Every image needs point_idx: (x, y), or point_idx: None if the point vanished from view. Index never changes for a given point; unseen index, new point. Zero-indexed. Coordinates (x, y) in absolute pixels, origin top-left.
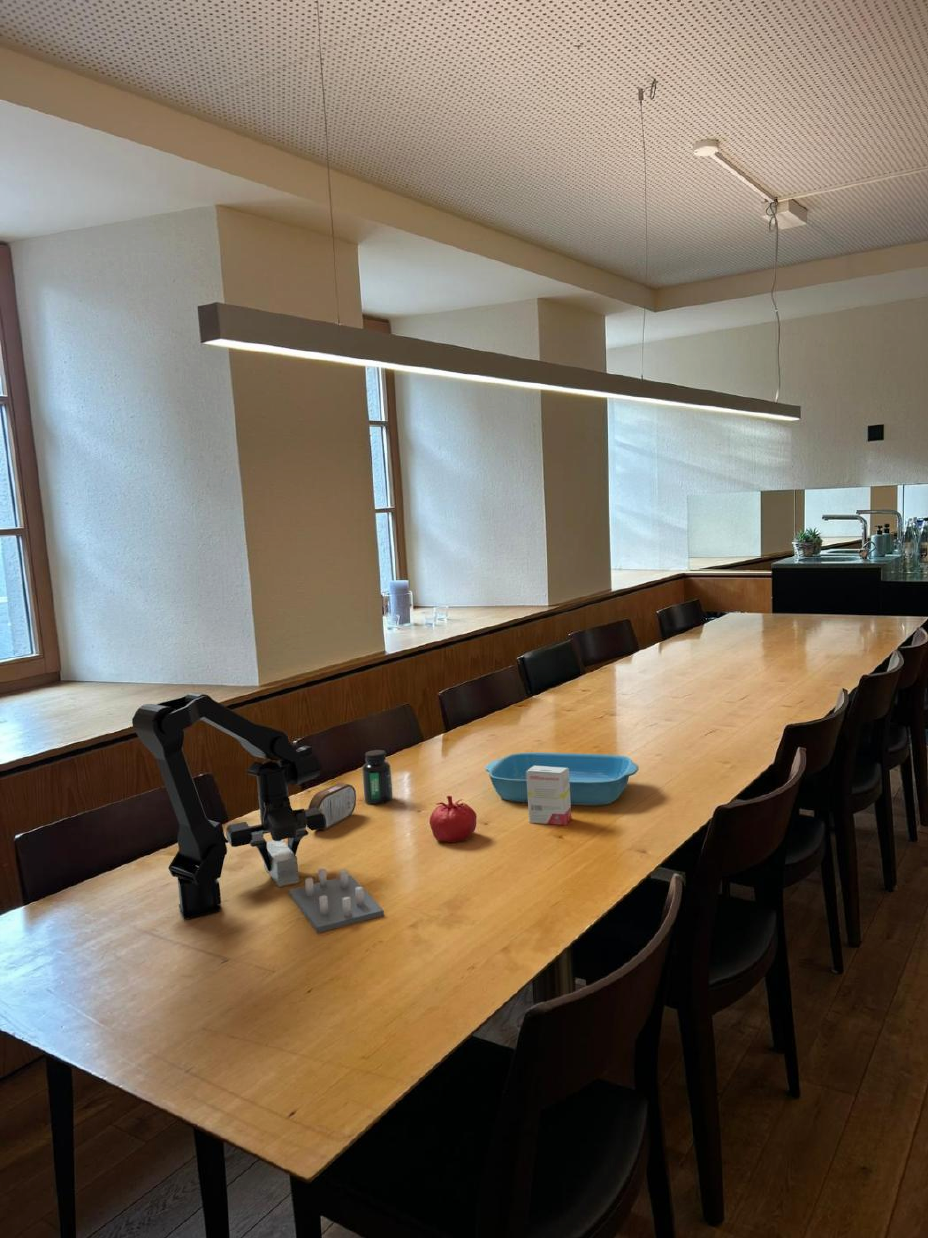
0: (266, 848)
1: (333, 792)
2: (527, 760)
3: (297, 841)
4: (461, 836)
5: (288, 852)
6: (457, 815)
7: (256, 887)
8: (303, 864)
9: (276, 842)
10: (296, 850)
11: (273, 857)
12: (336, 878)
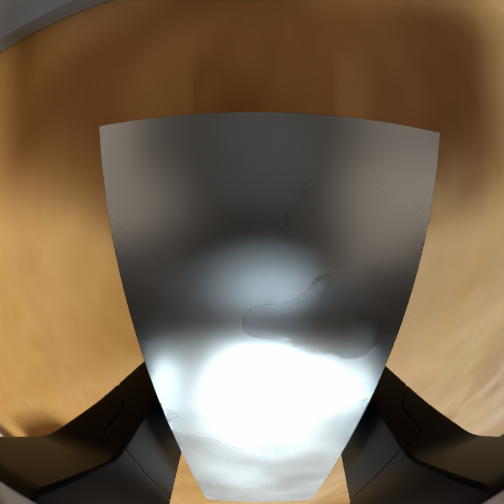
0: (411, 451)
1: None
2: None
3: (72, 441)
4: None
5: (186, 363)
6: None
7: (433, 214)
8: (136, 349)
9: (242, 491)
10: (119, 385)
11: (399, 318)
12: (16, 28)
